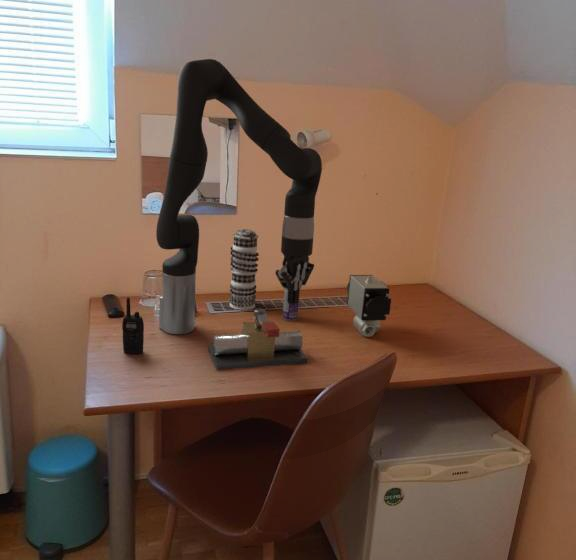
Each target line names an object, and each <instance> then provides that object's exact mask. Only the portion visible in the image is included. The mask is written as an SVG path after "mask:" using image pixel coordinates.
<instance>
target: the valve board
mask: <svg viewBox="0 0 576 560" xmlns="http://www.w3.org/2000/svg"><path fill="white" fill-rule="evenodd" d="M241 328H242V331H241V333H237V334H235V333H234V334H218V335H213V336H212V337H213V338H212V344H208V346H207V347H208V348H207V351H208V353H209V356H210V358H211V360H212V362H213V365H214V367H215V370H216V371H219V370H220V371H221V370H222V371H223V370H233V369H235V370H236V369H246V368H247V369H248V368H259V367H260V368H261V367H263V368H264V367H272V366H273V367H274V366H275V367H276V366H290V365H301V364H303V365H304V364H308V361H309V358H308V356H307V355H306V354H305V353H304V351H303V350H302V348H303V336H302V332H301V331H300V330H294V331H293V330H291V331H289V330H288V331H279V337H269V338H267V337H266V335H265V334H264V332H263V331H262V325H261V324H260V322H259V321H258V320H256V319H254V321H247V322H245V321H243V322H242V327H241Z"/></svg>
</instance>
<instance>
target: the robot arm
mask: <svg viewBox="0 0 576 560" xmlns="http://www.w3.org/2000/svg"><path fill="white" fill-rule="evenodd" d="M213 100H216V101H218V102H220V103H221V104H222V105H224V106H226V107H227V108H228V109H229V110H230V111H231V112H232V113H233V114H234V116H235V117H236V119H237V121H238V123H239V124H240V126H241V129H242V130H243V132H244V134H246V136H247V137H248V139H250V141H252V142H253V143H254V144H255V145H256V146H258V147H259V148H260V149H261V150H262V151H264V152H265V154H267V155H268V156H269V157H270V158H271V160H272V162H273V163H274V165H276V166H277V168H278V169H279V170H280V172H282V173H283V174H284V175H285V176H287V178H289V179H291V180H292V182H291V183H292V184H291V186H290V189H289V190H288V191H287V192H286V195H285V200H284V212H283V220H282V229H281V244H280V245H281V246H280V252H281V253H282V255H283V256H284V257H283V260H282V263H281V264H282V266H281V268H280V269H275V275H276V277H277V280H278V281H279V283H280V285H281V287H282V288H284V289H285V288H287V289H288V299H287V300H288V303H289V304H292V305H295V304H298V301H299V302H300V292H301V291H300V290H301V289H302V286H306V284H307V282H308V281H309V278H310V276H311V274H312V272H313V270H314V268H315V264H314V263H311V262H310V258H309V257H310V256H311V255H312V254H313V247H314V235H315V206H316V196H317V192H318V189H319V185H320V182H321V177H322V176H321V175H322V169H323V163H322V158H321V156H320V154H319V152H318V151H317V150H316V149H313V148H310V147H304V148H301V147H300V146H298V145H297V144H296V143H295V142H294V141H293V140H292V138H291V134H290V132H289V131H288V130H287V129H286V128H285V127H283V125H281V124H280V123H279V121H277V120H275V119H274V118H273V117H272V116H271V115H270V114H268V112H266V111H265V110H264V109H263V108H262V107H261V106H260V105H259V104H258V103H257V102H256V101H255V100H254V99H253V98H252V97H251V95H249V93H248V92H247V91H246V90H245V89H244V87H242V85H241V84H240V83H239V82H238V80H237V79H236V78H235V77H234V76H233V74H232V73H231V72H230V71H229V70H228V69H227V68H226V67H225V65H223V64H222V63H221V62H220V61H218V60H216V59H213V58H211V59H210V58H208V59H206V58H205V59H204V58H203V59H198V60H191V61H187V62H186V63H185V64H184V65H183V66H182V67H181V69H180V71H179V75H178V79H177V94H176V113H175V115H176V116H175V123H174V128H173V129H174V130H173V131H174V132H173V137H172V144H171V150H170V156H169V161H168V168H167V177H166V183H165V184H166V185H165V190H164V196H163V200H162V203H161V207H160V211H159V214H158V220H157V224H156V230H155V231H156V234H155V235H156V237H155V238H156V241H157V245H158V246H159V247H160V248H161V249H163V250H167V251H169V250H178V251H177V252H176V253H175V254H174V255H173V256H170V257H169V258H167V259H165V260H164V261H163V263H162V271H161V272H162V280H161V281H162V282H161V283H162V285H161V286H162V289H161V290H162V293H161V296H160V297H159V298H158V300H159V302H158V305H159V306H158V307H159V311H158V312H159V313H158V315H159V316H158V320H159V322H158V323H159V324H158V325H159V327H158V328H159V329H160V330H162V331H163V332H165V333H166V334H171V335H186V334H189V333H191V332H193V331H194V330H195V325H196V324H195V323H196V322H195V320H196V318H195V317H196V280H197V278H196V274H197V265H198V256H199V255H198V254H199V244H200V243H199V242H200V226H199V223H198V219H197V218H196V217H195V216H194V215H193V214H179V213H180V210H181V209H182V207H183V205H184V203H185V202H186V201H187V199H189V197H190V196H191V195H192V194H193V193H194V191H196V189H197V188H198V187H199V185H200V184H201V182H202V181H203V179H204V175H205V173H206V172H205V171H206V167H207V163H208V153H209V152H208V147H207V142H206V139H205V136H204V132H203V124H202V123H203V117H204V110H205V107H206V103H207V101H213ZM299 291H300V292H299Z"/></svg>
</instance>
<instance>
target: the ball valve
mask: <svg viewBox="0 0 576 560" xmlns="http://www.w3.org/2000/svg"><path fill="white" fill-rule="evenodd" d="M346 291H347V298H346V299H347V300H346V305H347V306H348V307H349V309H350V310H352V311H353V312H354V314H356V315H355V316H354V318H352V319H353V320H352V322H353V326H354V328H355V329H357V330H358V332H359V333H360V334H361V335H362V336H364V337H366V338H367V337H368V338H369V337H370V338H371V337H373V336H374V335H375V333H376V332H380V330H381V327H382V325H381V321H386V318H387V315H390V312H391V304H392V298H390V297H389V296H390V288H389V287H388V286H387V283H385V282H384V280H383V281H382V280H379V279H378V278H376V277H375V276H374V275H373V274H350V275H349V280H348V284H347V286H346Z"/></svg>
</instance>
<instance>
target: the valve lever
mask: <svg viewBox="0 0 576 560" xmlns="http://www.w3.org/2000/svg"><path fill="white" fill-rule="evenodd" d="M266 312H267V311H266V309H264V308H253V319H254V320H255V319H256V320H258V321H259V322H260V324H261V325H262V331H263V332H264V334H265V335H266V337H267V338H269V337H279V332H281V331H280V327H278V325H277V324H276V322H275V321H271V319H270V318H269V316H268V315H267V314H266Z"/></svg>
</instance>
